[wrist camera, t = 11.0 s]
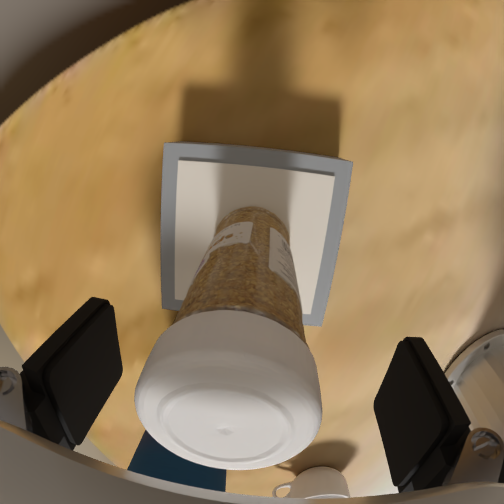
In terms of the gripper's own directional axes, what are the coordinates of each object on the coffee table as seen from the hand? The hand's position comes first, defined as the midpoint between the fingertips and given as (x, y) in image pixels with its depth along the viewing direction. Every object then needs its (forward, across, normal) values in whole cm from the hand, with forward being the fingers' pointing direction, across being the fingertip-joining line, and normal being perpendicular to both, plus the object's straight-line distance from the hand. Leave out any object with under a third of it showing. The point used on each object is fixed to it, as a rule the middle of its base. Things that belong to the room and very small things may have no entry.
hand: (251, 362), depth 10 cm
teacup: (+16, -10, +32) cm, 37 cm away
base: (+14, +1, -1) cm, 14 cm away
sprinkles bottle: (+10, +1, 0) cm, 10 cm away
